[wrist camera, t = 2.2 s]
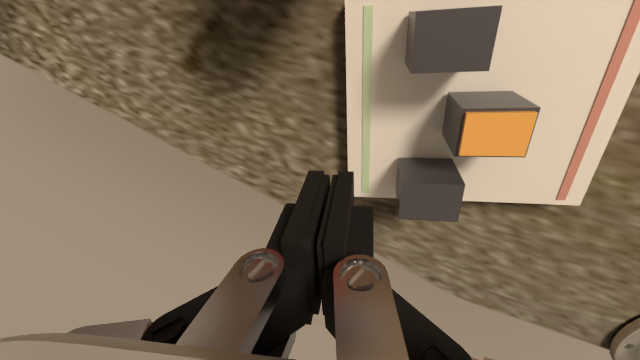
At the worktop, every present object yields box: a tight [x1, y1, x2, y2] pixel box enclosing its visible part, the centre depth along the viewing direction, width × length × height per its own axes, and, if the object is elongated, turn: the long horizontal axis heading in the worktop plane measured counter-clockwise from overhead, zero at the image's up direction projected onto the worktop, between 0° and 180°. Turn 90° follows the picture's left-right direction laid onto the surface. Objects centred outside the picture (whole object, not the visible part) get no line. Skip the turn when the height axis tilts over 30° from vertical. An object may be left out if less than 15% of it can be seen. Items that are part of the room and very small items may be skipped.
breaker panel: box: [345, 0, 640, 222], centre depth 20 cm, size 18×15×6 cm
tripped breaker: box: [442, 91, 541, 157], centre depth 19 cm, size 4×3×4 cm
